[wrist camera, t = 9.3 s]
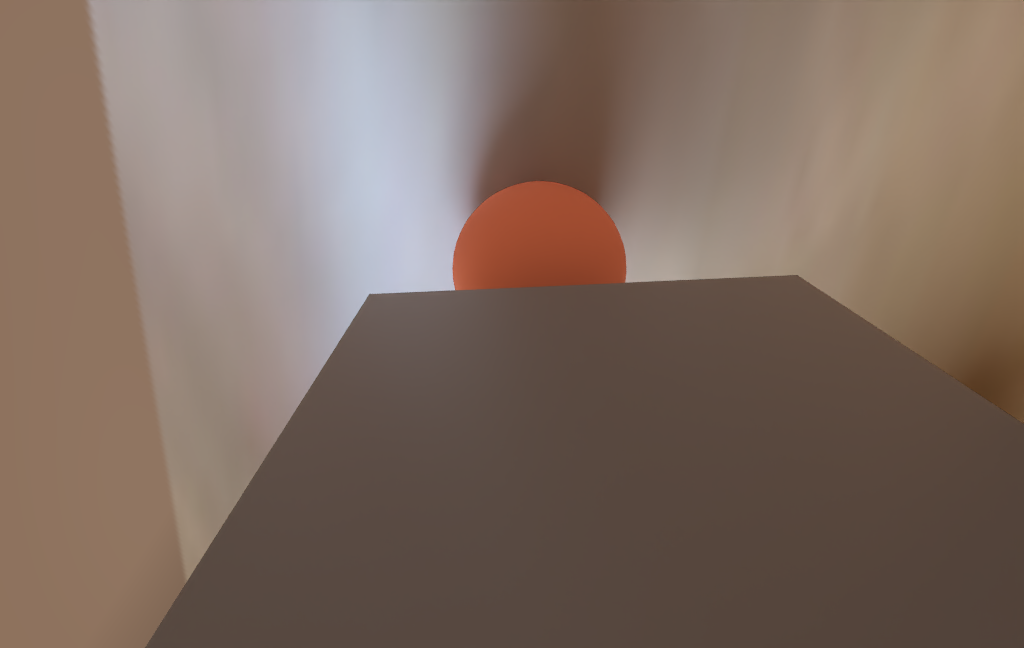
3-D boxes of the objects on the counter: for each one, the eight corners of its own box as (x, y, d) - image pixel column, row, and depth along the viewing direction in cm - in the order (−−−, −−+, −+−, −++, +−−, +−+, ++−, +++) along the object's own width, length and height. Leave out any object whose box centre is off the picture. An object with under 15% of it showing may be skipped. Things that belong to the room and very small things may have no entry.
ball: (656, 159, 13) (623, 251, 18) (468, 128, 14) (484, 224, 18) (624, 341, 12) (597, 389, 16) (413, 297, 12) (446, 355, 17)
